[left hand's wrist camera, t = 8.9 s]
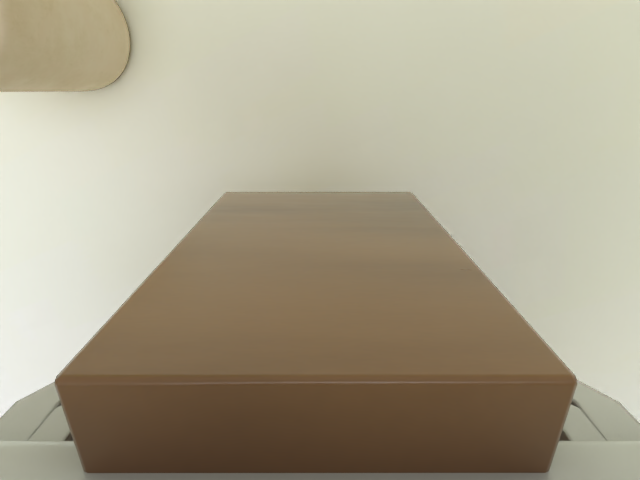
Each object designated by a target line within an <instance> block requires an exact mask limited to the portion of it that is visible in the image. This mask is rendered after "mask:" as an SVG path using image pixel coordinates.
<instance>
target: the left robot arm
mask: <svg viewBox="0 0 640 480" xmlns="http://www.w3.org/2000/svg"><path fill="white" fill-rule="evenodd" d="M0 480H640V423H639V422H638V421H637V420H636V419H635V418H634V417H633V416H632V415H631V414H630V413H629V412H628V411H627V410H626V409H625V408H624V407H623V406H622V405H621V404H620V402H618V401H616V400H614V399H612V398H610V397H608V396H606V395H604V394H603V393H601V392H599V391H597V390H595V389H593V388H591V387H589V386H587V385H585V384H584V383H582V382H580V381H578V380H577V387H576V390H575V393H574V396H573V399H572V402H571V405H570V409H569V412H568V415H567V418H566V421H565V424H564V427H563V430H562V433H561V436H560V439H559V442H558V445H557V448H556V451H555V454H554V457H553V460H552V463H551V466H550V470H549V471H548V472H546V473H86V472H84V470H83V467H82V465H81V462H80V459H79V456H78V453H77V450H76V447H75V444H74V441H73V438H72V435H71V432H70V429H69V426H68V423H67V420H66V417H65V415H64V412H63V409H62V406H61V403H60V400H59V397H58V394H57V391H56V388H55V382H53V383H51V384H49V385H48V386H46V387H44V388H42V389H40V390H38V391H36V392H34V393H32V394H30V395H28V396H26V397H25V398H23V399H21V400H19V401H17V402H16V403H15V404H14V405H13V406H12V407H11V408H10V409H9V410H8V411H7V412H6V413H5V414H4V415H3V416H2V417H1V418H0Z"/></svg>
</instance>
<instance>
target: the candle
mask: <svg viewBox="0 0 640 480" xmlns="http://www.w3.org/2000/svg"><path fill="white" fill-rule="evenodd" d="M129 53H130V37H129V31H128V27H127V23H126V20H125V18H124V16H123V13H122V11H121V10H120V8H119V6H118V5H117V3H116V2H115V0H0V92H39V91H91V90H97V89H100V88H103V87H105V86H107V85H110V84H111V83H112V82H114V81H115V80H116V79H117V78H118V77H119V76H120V75H121V73H122V72H123V70H124V68H125V66H126V64H127V61H128V58H129Z"/></svg>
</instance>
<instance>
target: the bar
mask: <svg viewBox="0 0 640 480" xmlns="http://www.w3.org/2000/svg"><path fill="white" fill-rule="evenodd" d="M576 387H577V379H576V377H575V375H574V374H573V373H572V372H571V370H570V369H569V368H568V367H567V366H566V365H565V364H564V363H563V361H562V360H561V359H560V358H559V357H558V356H557V355H556V354H555V352H554V351H553V350H552V349H551V348H550V347H549V346H548V345H547V344H546V342H545V341H544V340H543V339H542V338H541V337H540V336H539V335H538V333H537V332H536V331H535V330H534V329H533V328H532V327H531V326H530V324H529V323H528V322H527V321H526V320H525V319H524V318H523V317H522V316H521V314H520V313H519V312H518V311H517V310H516V309H515V308H514V307H513V305H512V304H511V303H510V302H509V301H508V300H507V299H506V298H505V297H504V295H503V294H502V293H501V292H500V291H499V290H498V289H497V288H496V286H495V285H494V284H493V283H492V282H491V281H490V280H489V279H488V277H487V276H486V275H485V274H484V273H483V272H482V271H481V270H480V269H479V267H478V266H477V265H476V264H475V263H474V262H473V261H472V260H471V258H470V257H469V256H468V255H467V254H466V253H465V252H464V251H463V249H462V248H461V247H460V246H459V245H458V244H457V243H456V242H455V241H454V239H453V238H452V237H451V236H450V235H449V234H448V233H447V232H446V230H445V229H444V228H443V227H442V226H441V225H440V224H439V223H438V222H437V220H436V219H435V218H434V217H433V216H432V215H431V214H430V213H429V211H428V210H427V209H426V208H425V207H424V206H423V205H422V204H421V202H420V201H419V200H418V199H417V198H416V197H415V196H414V195H413V194H412V193H411V192H226V193H224V194H223V196H222V197H221V198H220V199H219V200H218V201H217V202H216V203H215V204H214V205H213V206H212V207H211V209H210V210H209V211H208V212H207V213H206V214H205V215H204V216H203V217H202V218H201V219H200V221H199V222H198V223H197V224H196V225H195V226H194V227H193V228H192V229H191V230H190V231H189V233H188V234H187V235H186V236H185V237H184V238H183V239H182V240H181V241H180V242H179V243H178V245H177V246H176V247H175V248H174V249H173V250H172V251H171V252H170V253H169V254H168V255H167V257H166V258H165V259H164V260H163V261H162V262H161V263H160V264H159V265H158V266H157V267H156V269H155V270H154V271H153V272H152V273H151V274H150V275H149V276H148V277H147V278H146V279H145V281H144V282H143V283H142V284H141V285H140V286H139V287H138V288H137V289H136V290H135V291H134V293H133V294H132V295H131V296H130V297H129V298H128V299H127V300H126V301H125V302H124V303H123V304H122V306H121V307H120V308H119V309H118V310H117V311H116V312H115V313H114V314H113V315H112V316H111V318H110V319H109V320H108V321H107V322H106V323H105V324H104V325H103V326H102V327H101V328H100V330H99V331H98V332H97V333H96V334H95V335H94V336H93V337H92V338H91V339H90V340H89V342H88V343H87V344H86V345H85V346H84V347H83V348H82V349H81V350H80V351H79V352H78V354H77V355H76V356H75V357H74V358H73V359H72V360H71V361H70V362H69V363H68V364H67V366H66V367H65V368H64V369H63V370H62V371H61V372H60V373H59V374H58V375H57V377H56V379H55V388H56V391H57V394H58V397H59V400H60V403H61V406H62V409H63V412H64V415H65V417H66V420H67V423H68V426H69V429H70V432H71V435H72V438H73V441H74V444H75V447H76V450H77V453H78V456H79V459H80V462H81V465H82V467H83V470H84V472H86V473H546V472H548V471H549V470H550V466H551V463H552V460H553V457H554V454H555V451H556V448H557V445H558V442H559V439H560V436H561V433H562V430H563V427H564V424H565V421H566V418H567V415H568V412H569V409H570V405H571V402H572V399H573V396H574V393H575V390H576Z"/></svg>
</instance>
